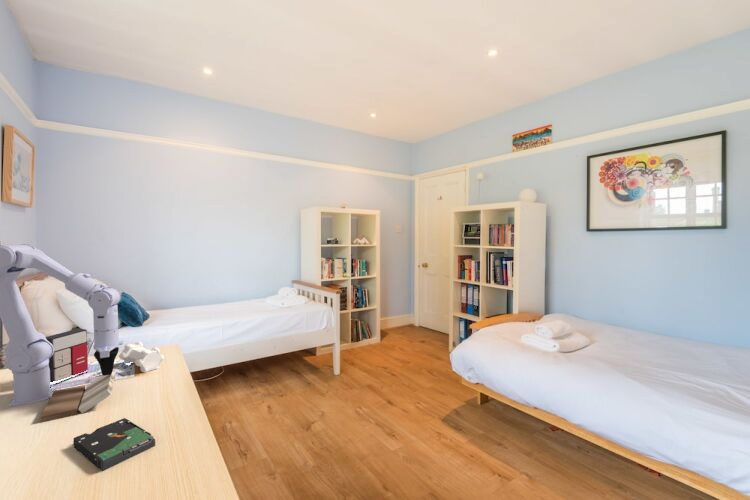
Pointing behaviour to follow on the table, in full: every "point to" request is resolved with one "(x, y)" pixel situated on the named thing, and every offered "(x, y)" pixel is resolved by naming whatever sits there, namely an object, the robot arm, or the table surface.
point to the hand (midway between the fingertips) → (107, 374)
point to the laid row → (63, 404)
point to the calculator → (68, 354)
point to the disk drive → (113, 443)
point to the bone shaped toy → (142, 356)
